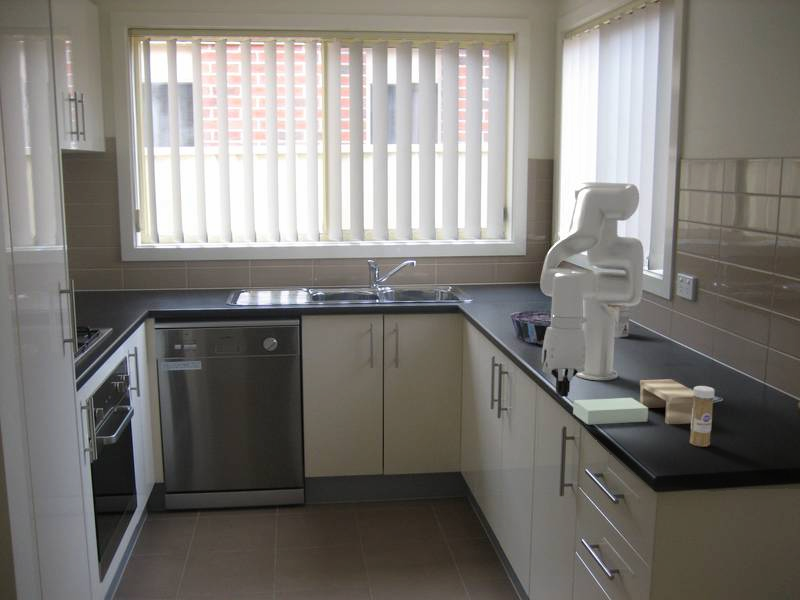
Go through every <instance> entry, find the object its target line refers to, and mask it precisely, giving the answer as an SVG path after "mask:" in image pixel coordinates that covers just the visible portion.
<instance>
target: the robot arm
mask: <svg viewBox="0 0 800 600" xmlns="http://www.w3.org/2000/svg"><path fill="white" fill-rule="evenodd" d="M639 192H640V191H639V189H638V187H637V186H636V185H635V184H633V183H618V182H617V183H616V182H594V181H592V182H582V183H579V184H578V185H577V186H576V187H575V190H574V199H575V203H574V208H573V211H572V217H571V222H570V226H569V230H568V233H567V234H566V235H564V236H563V237H562V238H560V239H559V240H558V241H557V242H556V243H555V244H554V245H553V246H551V248H550V249H549V250H548V252H547V253H546V256H545V257H544V258H545V259H544V261H543V266H542V271H541V275H540V281H539V283H540V285H539V287H540V290H541V292H542V293H543V294H544V295H545V296H548V297H551V309H550V311H551V327H547V330H546V334H545V338H544V344H543V345H542V352H541V364H542V365H543V366H542V368H541V369H542V372H544V373H546V374H550V375H552V376H553V377H554V378H555V381H556V382H555V392H556V394H557V395H558V396H560V397H561V398H563V397H566V398H567V397H568V396H569V393H570V390H571V389H570V386H571V384H570V383H571V381H572V380H573V378H574V377H575V376H576V377H579V378H581V379H585V380H590V381H591V380H593V381H611V380H615V379H617V378H618V372H617V371H616V370H614V368H613V366H614V351H615V338H616V337H615V316H614V314H613V312H612V311H611V309H610V308H609V306H608V304H610V305H611V304H614V305H626V306H630V307H631V306H632V307H633V306H637V305H638V304H640V302H641V301H642V297H643V289H644V288H643V287H644V258H645V257H644V254H645V253H644V246H643V243H642V242H641V240H640V239H638V238H636V237H629V236H627V237H626V236H619V235H618V221H627V220H629V219H631V217H632V216H633V215H634V214H635V212H636V211H637V209H638V207H639V203H640V193H639ZM585 252H586V259H587V263H588V264H589V266H591V267H593V268H596V269H601V270H594V271H593V270H590V269H585V268H584V269H583V268H573V267H572V268H571V267H558V266H559V265H560V263H561V262H563V261H565V260H566V259H568V258H570V257H573V256H576V255H579V254H582V253H585ZM604 270H614V271H604ZM618 270H619V271H624V272H615V271H618ZM563 370H564V371H563Z"/></svg>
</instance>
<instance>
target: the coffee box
mask: <svg viewBox="0 0 800 600" xmlns="http://www.w3.org/2000/svg"><path fill="white" fill-rule="evenodd" d="M608 306H609V308H610V309H611V311H612V312H613V314H614V316H615V338H617V339H618V338H624V337H629V329H630V317H631V315H630V313H631V306H626V305H614V304H611V305H610V304H608Z"/></svg>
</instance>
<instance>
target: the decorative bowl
mask: <svg viewBox="0 0 800 600" xmlns="http://www.w3.org/2000/svg"><path fill="white" fill-rule="evenodd" d="M509 317H510V318H511V320H512V324H513V326H514V331H515V333H516V336H517V337H518V338H519V339H521V340H522V341H524V342H526V343H528V344H534V345H541V346H543V344H544V338H545V334H546V330H547V327H551V310H525V311H518V312H513V313H511V314H509Z"/></svg>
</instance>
